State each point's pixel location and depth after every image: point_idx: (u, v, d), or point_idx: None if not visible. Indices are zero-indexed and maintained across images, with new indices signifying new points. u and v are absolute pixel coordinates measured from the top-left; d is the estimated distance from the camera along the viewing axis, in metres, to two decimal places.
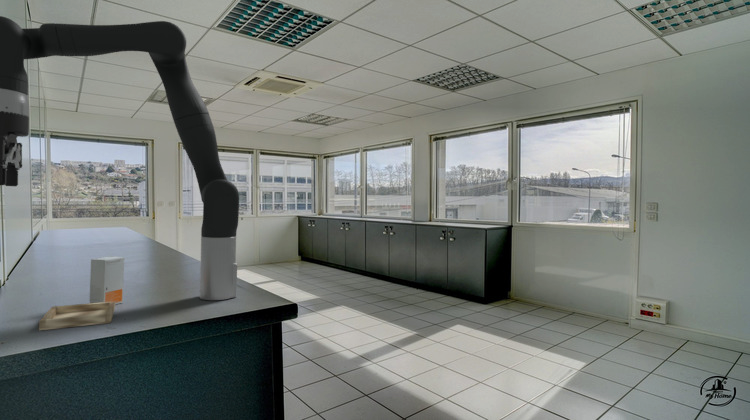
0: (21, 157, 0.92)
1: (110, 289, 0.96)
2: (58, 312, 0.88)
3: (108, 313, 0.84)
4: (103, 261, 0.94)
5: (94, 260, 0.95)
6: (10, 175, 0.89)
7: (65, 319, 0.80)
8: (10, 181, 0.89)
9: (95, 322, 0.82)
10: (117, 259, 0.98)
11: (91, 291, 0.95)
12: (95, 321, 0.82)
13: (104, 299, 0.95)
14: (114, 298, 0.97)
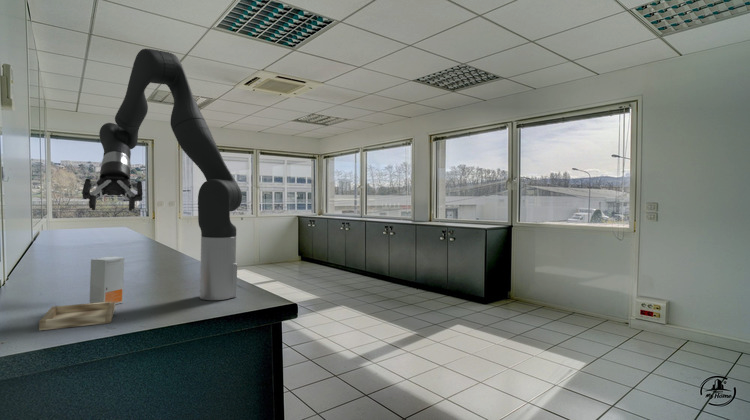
0: (140, 189, 1.14)
1: (110, 289, 0.96)
2: (58, 312, 0.88)
3: (108, 313, 0.84)
4: (103, 261, 0.94)
5: (94, 260, 0.95)
6: (129, 202, 1.11)
7: (65, 319, 0.80)
8: (129, 206, 1.10)
9: (95, 322, 0.82)
10: (117, 259, 0.98)
11: (91, 291, 0.95)
12: (95, 321, 0.82)
13: (104, 299, 0.95)
14: (114, 298, 0.97)
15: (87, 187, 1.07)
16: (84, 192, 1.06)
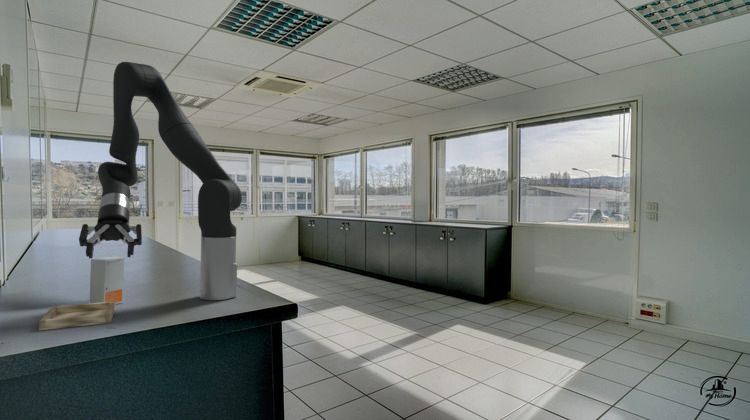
0: (140, 233, 1.10)
1: (110, 289, 0.96)
2: (58, 312, 0.88)
3: (108, 313, 0.84)
4: (103, 261, 0.94)
5: (94, 260, 0.95)
6: (128, 248, 1.06)
7: (65, 319, 0.80)
8: None
9: (95, 322, 0.82)
10: (117, 259, 0.98)
11: (91, 291, 0.95)
12: (95, 321, 0.82)
13: (104, 299, 0.95)
14: (114, 298, 0.97)
15: (84, 234, 1.03)
16: (81, 239, 1.02)
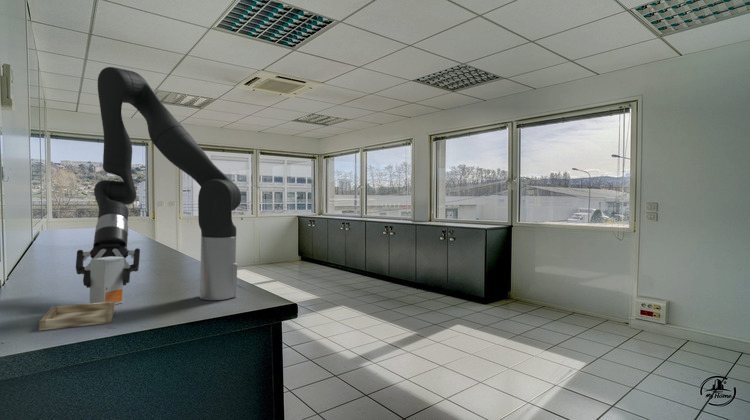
0: (137, 258, 1.03)
1: (110, 289, 0.96)
2: (58, 312, 0.88)
3: (108, 313, 0.84)
4: (103, 261, 0.94)
5: (94, 260, 0.95)
6: None
7: (65, 319, 0.80)
8: (123, 280, 0.98)
9: (95, 322, 0.82)
10: (117, 259, 0.98)
11: (91, 291, 0.95)
12: (95, 321, 0.82)
13: (104, 299, 0.95)
14: (114, 298, 0.97)
15: (80, 261, 0.96)
16: (78, 267, 0.95)
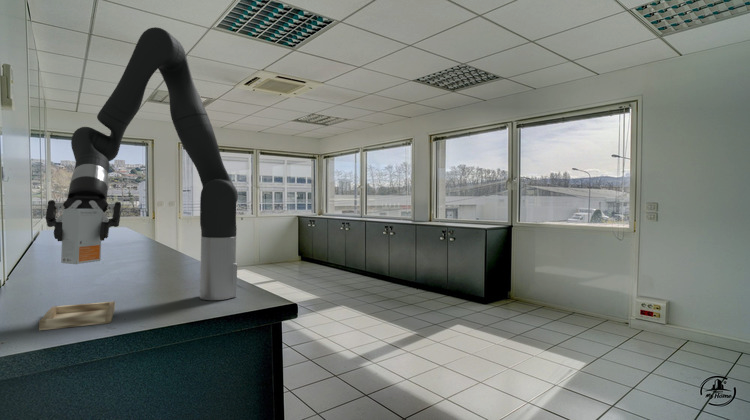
0: (117, 212, 0.91)
1: (85, 243, 0.84)
2: (58, 312, 0.88)
3: (108, 313, 0.84)
4: (76, 211, 0.83)
5: (66, 210, 0.83)
6: None
7: (65, 319, 0.80)
8: None
9: (95, 322, 0.82)
10: (93, 210, 0.86)
11: (63, 245, 0.83)
12: (95, 321, 0.82)
13: (78, 254, 0.83)
14: (90, 255, 0.86)
15: (52, 211, 0.85)
16: (48, 218, 0.84)
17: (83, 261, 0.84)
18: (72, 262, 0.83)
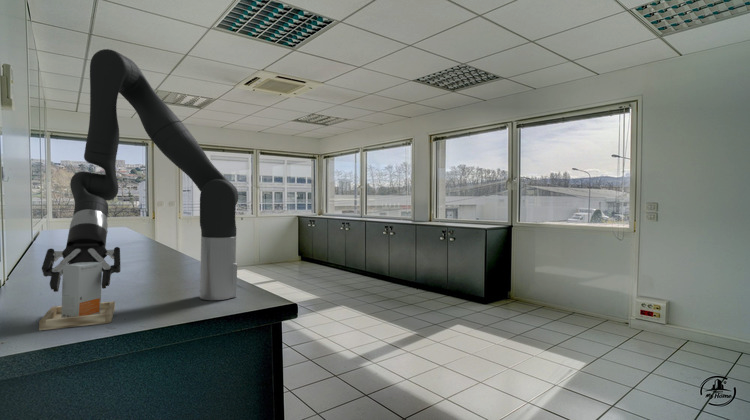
0: (118, 258, 0.92)
1: (85, 299, 0.85)
2: (58, 312, 0.88)
3: (108, 313, 0.84)
4: (77, 267, 0.83)
5: (66, 266, 0.83)
6: None
7: (65, 319, 0.80)
8: (102, 282, 0.87)
9: (95, 322, 0.82)
10: (93, 265, 0.87)
11: (63, 301, 0.84)
12: (95, 321, 0.82)
13: (78, 310, 0.83)
14: (90, 309, 0.86)
15: (49, 261, 0.85)
16: (44, 269, 0.84)
17: None
18: None
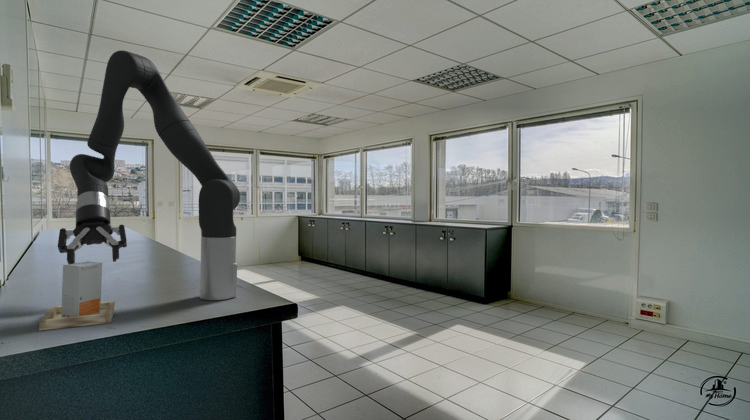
0: (123, 234, 1.03)
1: (85, 299, 0.85)
2: (58, 312, 0.88)
3: (108, 313, 0.84)
4: (77, 267, 0.83)
5: (66, 266, 0.83)
6: None
7: (65, 319, 0.80)
8: None
9: (95, 322, 0.82)
10: (93, 265, 0.87)
11: (63, 301, 0.84)
12: (95, 321, 0.82)
13: (78, 310, 0.83)
14: (90, 309, 0.86)
15: (63, 239, 0.96)
16: (60, 246, 0.94)
17: None
18: None
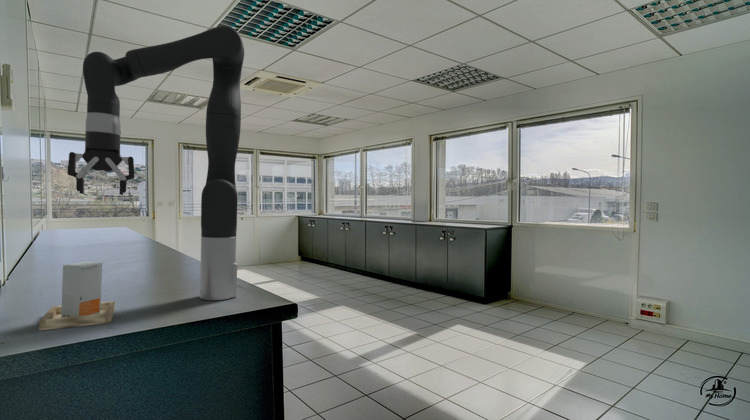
0: (132, 169, 1.03)
1: (85, 299, 0.85)
2: (58, 312, 0.88)
3: (108, 313, 0.84)
4: (77, 267, 0.83)
5: (66, 266, 0.83)
6: (120, 185, 1.03)
7: (65, 319, 0.80)
8: None
9: (95, 322, 0.82)
10: (93, 265, 0.87)
11: (63, 301, 0.84)
12: (95, 321, 0.82)
13: (78, 310, 0.83)
14: (90, 309, 0.86)
15: (72, 166, 0.97)
16: (70, 174, 0.97)
17: None
18: None
